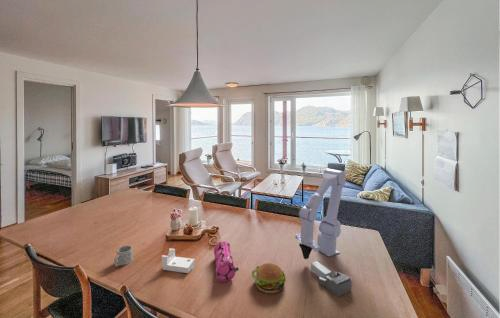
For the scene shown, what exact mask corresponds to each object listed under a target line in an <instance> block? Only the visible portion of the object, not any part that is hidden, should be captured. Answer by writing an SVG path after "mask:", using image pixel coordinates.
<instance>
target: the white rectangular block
mask: <svg viewBox="0 0 500 318" xmlns="http://www.w3.org/2000/svg"><path fill="white" fill-rule="evenodd" d="M310 271H311V273H313V274H314V275H315V276H316V277H318V278H319V277H321V278H324V279H326V276H329V277H330V278H332V276H333V274H332V271H331V270H330V269H328V268H327V267H326V266H325V265H323V264H322V263H320V262H319V261H313V262H310Z"/></svg>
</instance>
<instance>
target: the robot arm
mask: <svg viewBox="0 0 500 318" xmlns="http://www.w3.org/2000/svg"><path fill="white" fill-rule="evenodd" d="M321 178H322V180H321V182H320V184H319V186H318V188H317V190H316V192H315V193H313V194H311V196H310V197H309V199H308V200H307V202H306V203H305V205H304V206H302V207H300V208H299V212H298V217H299V218H300V219H299V220H300V233H295V236H294V237H295V239H296V240H298V244H299V245H298V246H299V247H300V250H301V253H302V257H303V259H305V260H308V259H310V254H311V253H312V251H313V250H314V252H321V253H322V254H324V255H326V256H327V257H331V256H335V255H337V254H339V253H340V251H339V250H338V249H337V238H339V237H340V235H341V231H342V230H341V225H342V224H341V222H340V221H339V220H338V219H337V218H338V215H339V214H338V213H339V208H340V202H341V197H342V193H343V192H342V191H343V188H345V185H346V180H347V174H346V173H345V171H344V170H337V169H332V168H328V167H327V168H325V169H324V170H323V172H322V176H321ZM330 187H331V191H330V194H329V195H330V196H329V200H328V204H327V205H328V206H327V211H326V216H324V217H322V218H321V220H320V223H319V225H318V231H319V233H318V234H317V239H316V240H317V241H316V242H315V240H314V222H315V220H316V219H317V216H318V211H319V208H320V206H321V204H322V203H323V201H324V200H323V197H324V195H325V193H326V192H327V191H328V190H329V189H330Z"/></svg>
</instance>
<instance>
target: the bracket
mask: <svg viewBox="0 0 500 318" xmlns="http://www.w3.org/2000/svg"><path fill="white" fill-rule="evenodd" d="M195 266H196V259H195V258H189V257H183V256H182V257H181V256H176V248H168V254H167V255H165V254H162V255H161V267H162V269H161V270H164V271H170V272H177V273H185V274H189V273H190V272H191V271H192V270H193V269H194V268H195Z"/></svg>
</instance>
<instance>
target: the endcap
mask: <svg viewBox="0 0 500 318" xmlns="http://www.w3.org/2000/svg"><path fill="white" fill-rule="evenodd" d="M332 276H333V278H332V277H331V278H330V277H329V276H326V279H324V278H321V277H318V284H319V285H321V286H323V287H325V288H326V289H327V290H329V291H330V292H331V293H333V294H334V295H335V296H336V297H337V298H338V297H341V296H343V295H345V294H347V293H350V292H351V291H352V282H353V281H352V278H351V277H350V276H348V275H347V274H345V273H342V272H340V271H335V270H334V271H333V274H332Z"/></svg>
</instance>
